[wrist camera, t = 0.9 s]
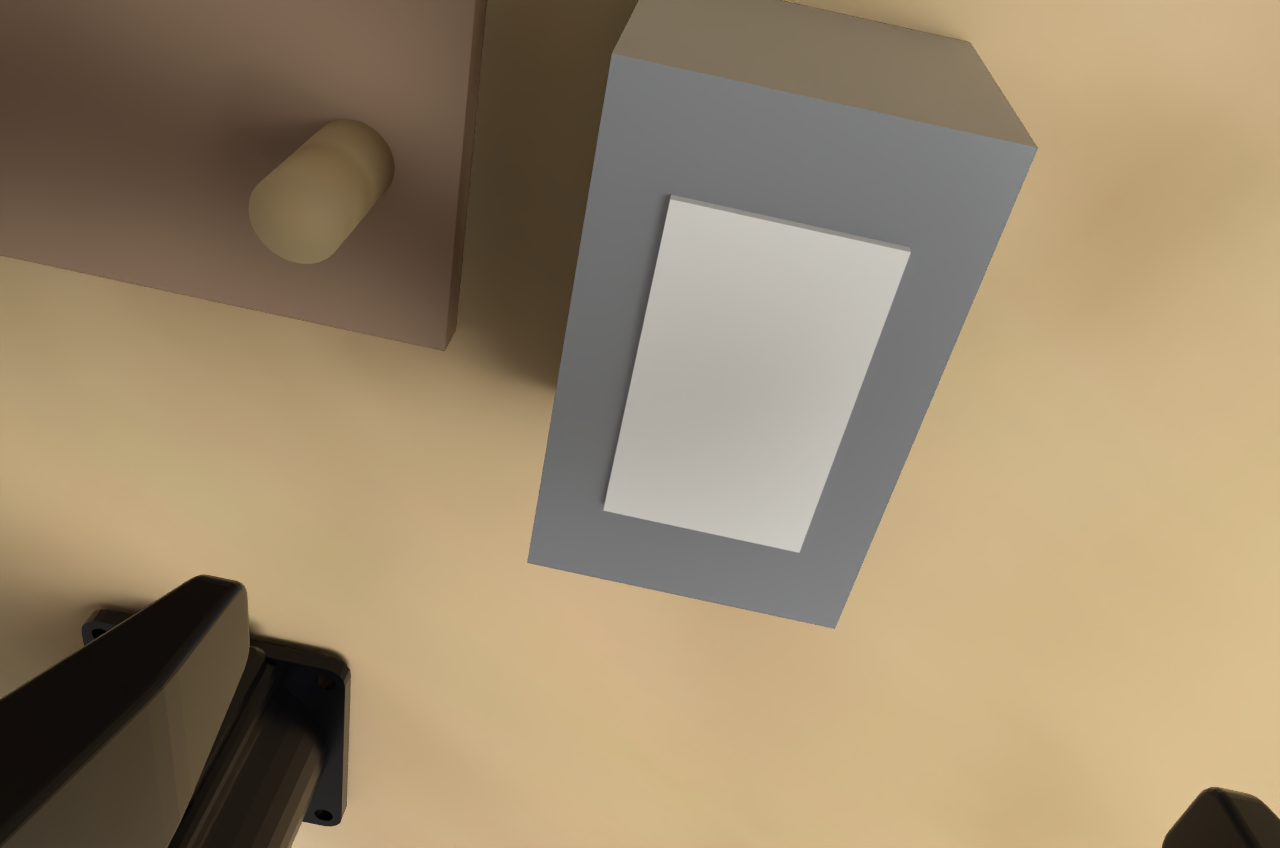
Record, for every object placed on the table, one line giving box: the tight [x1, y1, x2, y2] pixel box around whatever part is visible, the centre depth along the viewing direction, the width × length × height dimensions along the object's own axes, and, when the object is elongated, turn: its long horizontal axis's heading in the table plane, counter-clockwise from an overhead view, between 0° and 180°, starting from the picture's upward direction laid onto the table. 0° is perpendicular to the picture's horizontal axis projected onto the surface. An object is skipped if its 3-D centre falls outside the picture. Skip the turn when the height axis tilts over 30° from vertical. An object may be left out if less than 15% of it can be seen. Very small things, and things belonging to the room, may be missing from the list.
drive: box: [527, 0, 1038, 629], centre depth 16 cm, size 8×5×5 cm, turn 169°
